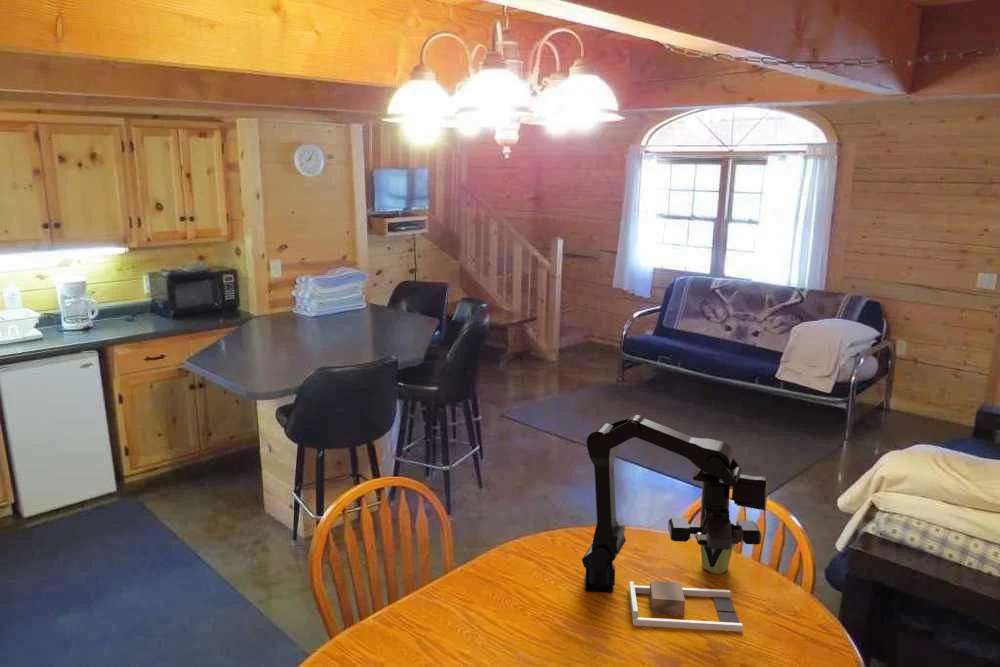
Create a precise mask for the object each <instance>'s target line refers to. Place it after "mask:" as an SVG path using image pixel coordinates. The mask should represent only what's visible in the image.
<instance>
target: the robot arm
mask: <svg viewBox="0 0 1000 667" xmlns="http://www.w3.org/2000/svg"><path fill="white" fill-rule="evenodd" d="M633 438H636V439H639V440H641V441H644V442H646V443H649V444H651V445H653V446H657V447H659V448H662V449H663V450H666V451H669V452H672V453H674V454H676V455H678V456H681V457H683V458H685V459H687V460H688V461H690V462H691V463H692V464H693V465H694V466H695V467H696V468H698V470H696V471H694V472H695V473H694V474H693V477H692V480H693V481H698V482H701V498H700V505H701V506H700V518H699V520H700V521H699V524H689V521H688V519H687V518H686V517H684V518H683V517H681V518H680V517H671V518H669V519H668V521H667V529H668V533H669V537H670V540H671V541H673V542H680V543H681V542H687V541H689V540H690V539H691V535H694V537H695V540H696V543H697V544H698V545H699V546H701V545H703V547H704V549H705V551H706V555H707V558H708V562H709V565H710V567H714V566H715V564H716V562H717V560H718V558H719V556H720V554H721V552H722V551H723V549H725V550H730V549H731V548H732V545H733V544H735V545H739V543H742V542H743V543H744V544H746V545H756V546H757V545H760V544H761V543H762V542H761V541H762V532H761V530H760V529H759V527H758V525H757V523H756V521H754V520H743V519H742V520H741V519H737V521H736V522H735V523H736V525H735V524H734V523H732V522H731V520H730V510H729V509H730V496H731V500H732V501H734V502H733V503H734V505H736V506H737V507H742V508H748V509H755V510H758V511H759V510H760V511H764V512H765V511H766V508H767V502H768V495H769V494H768V492H769V489H768V477H765V476H754V475H749V474H743V473H742V472H743V471H742V470H743V469H742V468H741V466H740V465H739V463H738V462H737V460H736V459H735V457H734V451H733V449H732V448H731V445H729V444H728V443H726V442H725V441H721V440H717V439H713V438H705V437H703V438H701V437H699V438H698V437H694V436H690V435H688V434H686V433H683V432H680V431H678V430H675V429H672V428H670V427H668V426H665V425H663V424H660V423H658V422H656V421H655V422H654V421H653V420H649V419H647V418H644V417H643V416H642V415H640V414H633V415H631V416H630V417H627V418H623V419H620V420H616V421H615V422H612V423H608V422H607V423H606V422H603V423H600V424H598V425H597V426H596V427H595V428H594V429H593V431H591V433H590V434H589V435H588V436H587V438H586V443H585V444H586V449H587V453H588V457H589V460H590V461H591V463H592V465H593V468H594V470H593V471H594V488H595V490H594V491H595V507H596V508H595V511H596V526H595V529H594V534H593V538H592V543H591V545H590V547H589V548H588V550H587V551H586V552H585V554H584V555H583V557H582V558H581V562H582V565H583V567H584V568H585V572H584V573H585V574H584V590H585V591H587V592H598V593H599V592H600V593H601V592H603V593H613V592H614V586H615V585H616V566H615V564H614V563H613V562H614V561H615V559H616V558H617V557H618V555H619V554H620V552H621V550H622V548H623V546H624V545H625V544H626V542H627V539H626V536H625V531H626V530H625V529H626V526H625V525H620V524H619V522H618V521H617V511H616V509H617V508H616V490H615V487H616V486H615V467H614V466H615V460H616V455H617V453H618V448H619V445H621V444H623V443H624V442H627V441H628V440H631V439H633ZM731 487H732V493H731ZM730 494H731V495H730Z"/></svg>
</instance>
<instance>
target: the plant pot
mask: <svg viewBox="0 0 1000 667" xmlns="http://www.w3.org/2000/svg"><path fill="white" fill-rule="evenodd" d="M735 545H736V544H733V545H732V548H731V549H730V550H725V549H723V551H722V552H721V554H720V556H719V558H718V560H717V562H716V564H715V566H714V567H710V565H709V562H708V558H707V555H706V551H705V549H704V547H703V545H700V556H701V566H702V568H703V569H704V570H706V571H708V572H709V573H712V574H715V575H716V574H718V575H719V574H720V575H721V574H723V573H725V572H727V571H728V570H729V565H730V562H731V561H730V560H731V557H732V552H733V549H734V547H735Z"/></svg>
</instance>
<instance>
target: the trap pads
mask: <svg viewBox="0 0 1000 667" xmlns="http://www.w3.org/2000/svg"><path fill="white" fill-rule="evenodd" d="M712 600H713V602H714V606H716V607H715V610H716V612H717V615H718V619H719V622H730V623H740V620H739V617H738V615H737V612H736V609H735V607H734V603H733V601H732V598H731V597H730V598H726V597H712ZM721 611H726V612H721ZM727 611H728V612H727Z"/></svg>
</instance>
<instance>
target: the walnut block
mask: <svg viewBox="0 0 1000 667" xmlns="http://www.w3.org/2000/svg"><path fill="white" fill-rule="evenodd" d="M649 586H650V594H649V601H650V610H651V609H652V610H651V614H652V613H653V614H652V615H663V614H669V615H668V616H678V615H684V616H685V611H686V609H685V608H686V599H685V596H684V594H683V589H682V588H683V585H682V582H674V581H658V580H649ZM670 614H671V615H670Z"/></svg>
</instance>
